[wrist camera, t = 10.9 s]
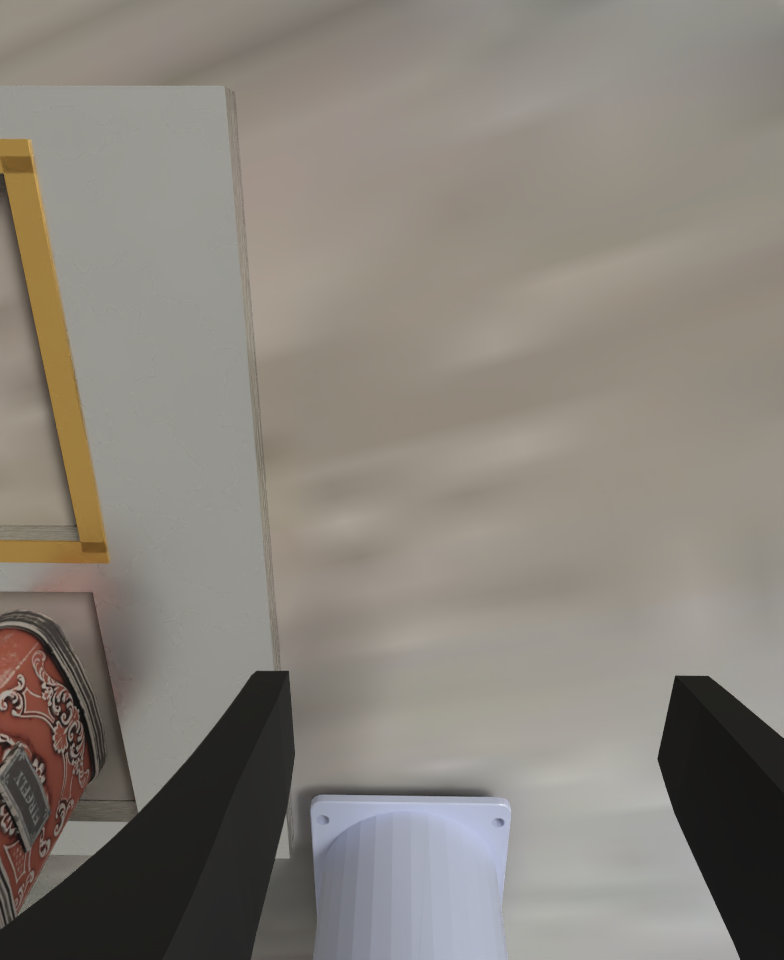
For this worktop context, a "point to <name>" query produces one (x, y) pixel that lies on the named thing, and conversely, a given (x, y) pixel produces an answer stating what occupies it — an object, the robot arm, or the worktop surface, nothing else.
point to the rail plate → (146, 408)
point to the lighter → (40, 747)
